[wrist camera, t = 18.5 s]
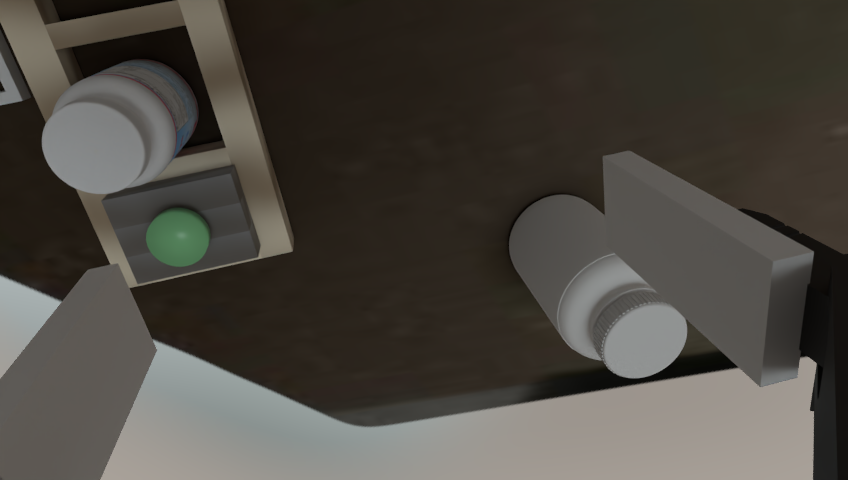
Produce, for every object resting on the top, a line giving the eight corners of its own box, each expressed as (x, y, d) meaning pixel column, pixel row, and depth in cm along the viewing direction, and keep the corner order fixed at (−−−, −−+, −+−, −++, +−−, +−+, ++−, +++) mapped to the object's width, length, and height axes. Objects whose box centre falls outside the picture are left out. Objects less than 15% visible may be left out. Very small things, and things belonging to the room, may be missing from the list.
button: (149, 204, 38) (136, 220, 35) (204, 192, 38) (196, 207, 35) (168, 253, 39) (158, 272, 37) (222, 241, 39) (215, 259, 37)
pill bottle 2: (517, 294, 49) (592, 413, 35) (497, 209, 45) (572, 306, 32) (606, 264, 49) (714, 372, 36) (592, 178, 46) (707, 261, 32)
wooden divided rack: (-51, -141, 32) (-104, -158, 28) (171, -177, 33) (151, -199, 29) (131, 273, 43) (112, 303, 39) (293, 237, 44) (291, 263, 40)
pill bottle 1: (139, 165, 40) (78, 229, 30) (80, 82, 37) (-8, 121, 27) (218, 126, 40) (185, 177, 29) (166, 40, 37) (108, 64, 27)
